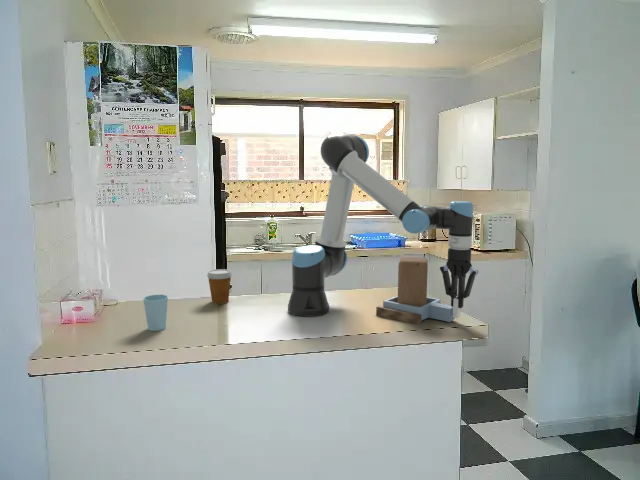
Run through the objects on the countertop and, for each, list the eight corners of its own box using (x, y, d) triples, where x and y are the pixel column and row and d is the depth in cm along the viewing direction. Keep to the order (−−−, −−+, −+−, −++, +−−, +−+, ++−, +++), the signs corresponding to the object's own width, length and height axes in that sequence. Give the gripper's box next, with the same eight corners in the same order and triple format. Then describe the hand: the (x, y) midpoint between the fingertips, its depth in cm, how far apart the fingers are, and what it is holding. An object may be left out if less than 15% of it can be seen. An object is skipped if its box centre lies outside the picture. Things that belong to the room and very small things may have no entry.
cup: (166, 332, 165) (164, 300, 164) (141, 332, 165) (140, 300, 164) (171, 324, 173) (170, 294, 172) (148, 325, 173) (146, 294, 171)
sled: (382, 313, 185) (383, 300, 185) (404, 304, 197) (404, 292, 196) (442, 325, 171) (442, 312, 170) (461, 315, 182) (461, 303, 182)
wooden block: (425, 318, 181) (427, 262, 178) (397, 316, 183) (398, 261, 180) (426, 310, 190) (427, 257, 187) (398, 309, 192) (399, 256, 189)
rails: (376, 315, 185) (376, 306, 184) (403, 303, 199) (403, 296, 199) (418, 324, 174) (419, 315, 174) (444, 311, 189) (444, 303, 188)
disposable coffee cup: (230, 304, 197) (229, 274, 196) (205, 304, 198) (204, 273, 196) (234, 298, 207) (233, 269, 205) (210, 298, 207) (209, 268, 205)
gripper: (436, 247, 173) (433, 315, 177) (474, 251, 165) (470, 322, 169) (446, 244, 179) (443, 310, 182) (483, 248, 171) (479, 317, 174)
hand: (456, 316), depth 175 cm, fingers closed
